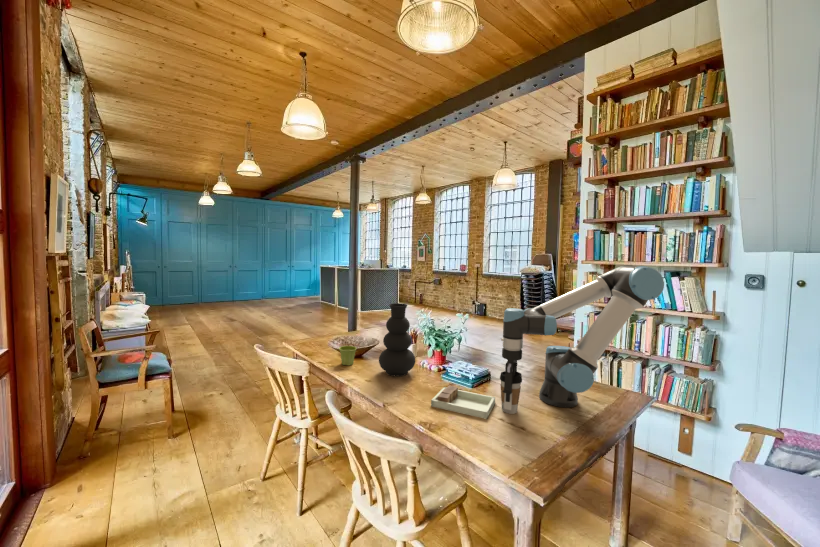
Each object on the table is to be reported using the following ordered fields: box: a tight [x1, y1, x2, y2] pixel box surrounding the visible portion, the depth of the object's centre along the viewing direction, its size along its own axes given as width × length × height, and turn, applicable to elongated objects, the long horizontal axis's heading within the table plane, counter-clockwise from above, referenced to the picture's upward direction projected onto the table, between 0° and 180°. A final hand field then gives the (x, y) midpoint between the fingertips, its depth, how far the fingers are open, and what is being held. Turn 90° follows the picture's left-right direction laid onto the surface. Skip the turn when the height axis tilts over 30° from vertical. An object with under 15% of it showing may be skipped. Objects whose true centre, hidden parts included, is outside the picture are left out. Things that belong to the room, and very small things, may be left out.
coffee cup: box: [499, 370, 523, 415], centre depth 137 cm, size 8×8×15 cm
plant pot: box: [338, 345, 357, 366], centre depth 188 cm, size 9×9×9 cm
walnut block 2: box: [441, 389, 454, 403], centre depth 143 cm, size 4×4×4 cm
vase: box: [378, 302, 416, 377], centre depth 175 cm, size 18×18×35 cm
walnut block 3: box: [446, 385, 459, 400], centre depth 146 cm, size 4×4×4 cm
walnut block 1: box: [438, 393, 450, 403], centre depth 138 cm, size 4×4×4 cm
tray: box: [430, 386, 496, 420], centre depth 139 cm, size 22×15×4 cm
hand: (509, 404), depth 138 cm, fingers open, 9 cm apart
